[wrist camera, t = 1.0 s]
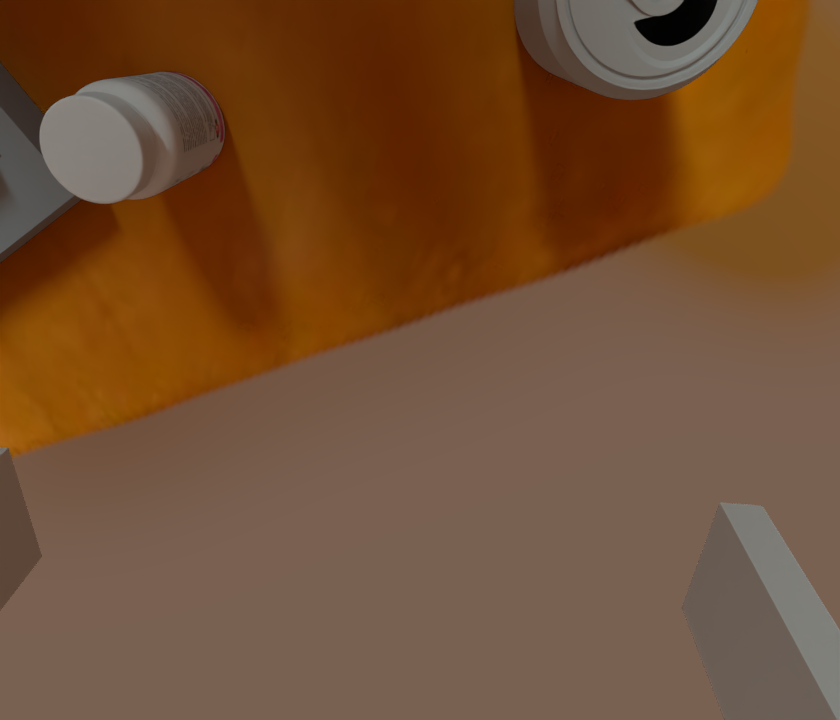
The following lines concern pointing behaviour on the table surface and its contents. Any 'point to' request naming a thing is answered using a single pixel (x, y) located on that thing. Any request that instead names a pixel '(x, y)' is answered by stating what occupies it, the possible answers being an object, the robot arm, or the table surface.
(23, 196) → the key board
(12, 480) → the robot arm
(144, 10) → the table surface
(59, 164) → the pill bottle
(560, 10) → the beverage can
